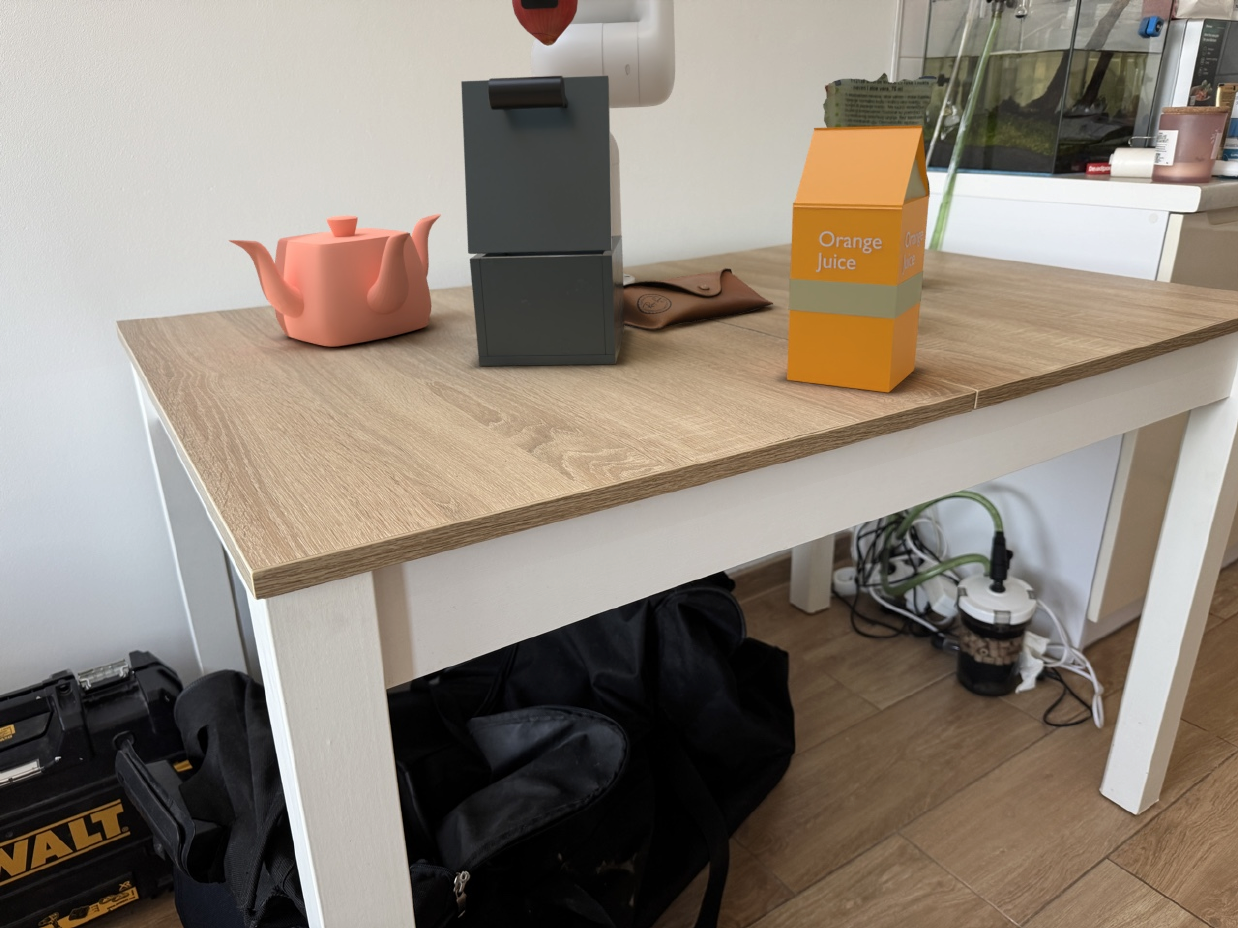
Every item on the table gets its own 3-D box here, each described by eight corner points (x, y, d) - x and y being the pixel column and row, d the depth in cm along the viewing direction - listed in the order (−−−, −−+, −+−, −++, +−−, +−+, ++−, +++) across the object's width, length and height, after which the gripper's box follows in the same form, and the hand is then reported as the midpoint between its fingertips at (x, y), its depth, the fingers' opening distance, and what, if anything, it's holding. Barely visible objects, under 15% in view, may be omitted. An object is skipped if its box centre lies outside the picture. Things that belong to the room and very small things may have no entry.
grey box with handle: (463, 83, 80) (445, 63, 74) (609, 78, 79) (602, 57, 73) (470, 254, 82) (453, 248, 76) (612, 250, 81) (606, 244, 75)
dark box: (506, 332, 98) (498, 238, 94) (624, 330, 97) (622, 235, 93) (479, 366, 85) (469, 258, 82) (615, 364, 84) (611, 255, 81)
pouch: (809, 290, 114) (819, 74, 105) (845, 275, 123) (857, 75, 114) (897, 298, 108) (915, 69, 99) (928, 281, 117) (947, 70, 108)
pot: (419, 351, 92) (405, 224, 87) (247, 355, 92) (225, 229, 87) (450, 313, 109) (440, 205, 104) (306, 317, 109) (289, 209, 105)
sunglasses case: (659, 328, 95) (637, 269, 95) (624, 351, 101) (604, 296, 101) (779, 303, 105) (759, 250, 105) (741, 326, 111) (722, 275, 111)
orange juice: (889, 393, 73) (909, 127, 66) (785, 380, 77) (793, 129, 70) (915, 369, 79) (937, 124, 72) (818, 358, 84) (829, 126, 76)
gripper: (505, -198, 83) (519, 21, 90) (463, -269, 67) (484, 4, 74) (587, -203, 82) (595, 18, 89) (564, -276, 67) (576, 0, 73)
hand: (545, 9), depth 81 cm, fingers closed on onion, 5 cm apart
